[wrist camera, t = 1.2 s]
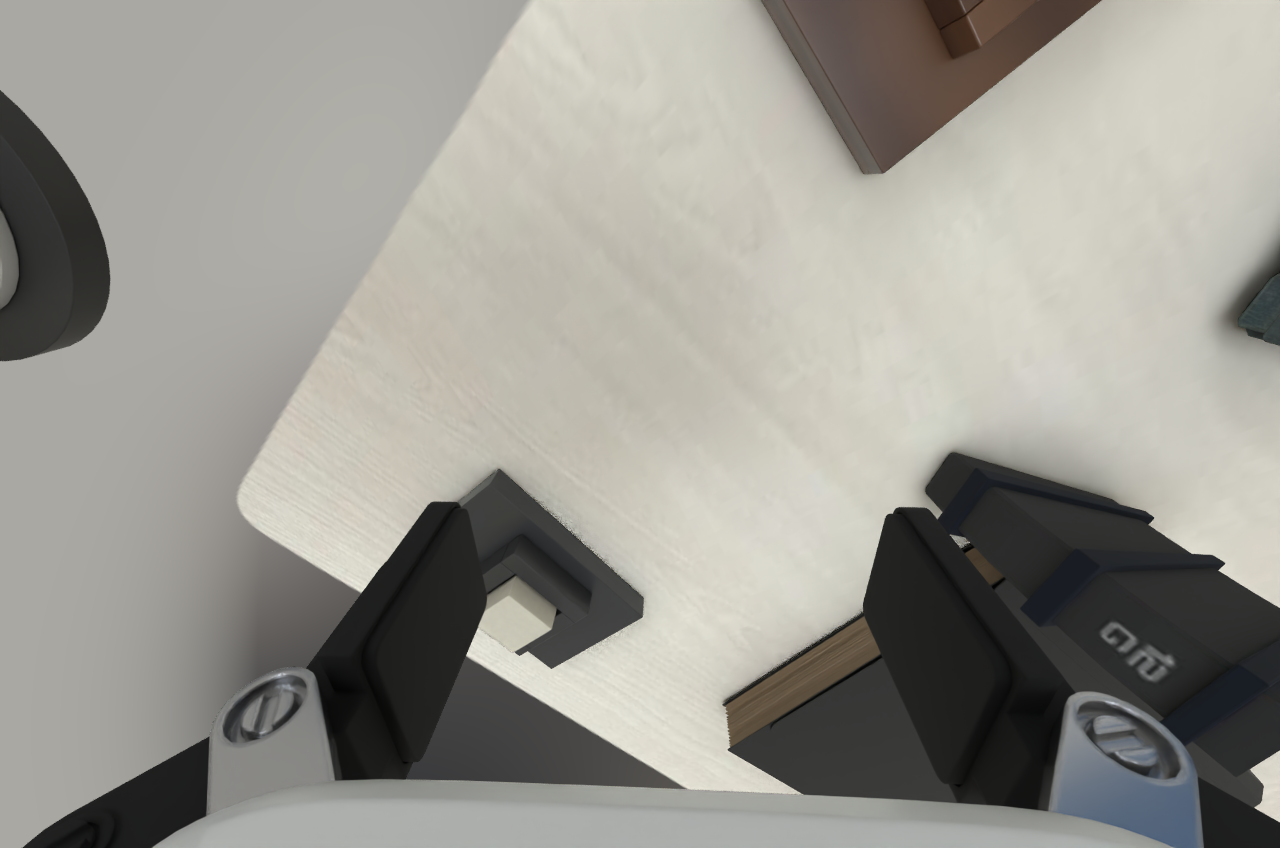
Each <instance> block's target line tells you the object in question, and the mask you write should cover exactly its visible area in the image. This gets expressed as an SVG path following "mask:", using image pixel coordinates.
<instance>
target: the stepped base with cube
mask: <svg viewBox="0 0 1280 848" xmlns="http://www.w3.org/2000/svg"><path fill="white" fill-rule="evenodd" d="M458 503H459V504H460V505H461V508H465V509H467V510H468V513H469V517H470V521H471V525H472V530H473V534H474V539H475V543H476V548H477V552H478V557H479V561H480V566H481V570H482V574H483V579H484V583H485V588H486V592H487V594H489V593H490V592H492V591H493V590H494V589H496V588H497V587H499V586H500V585H502V584H503V583H505V582H506V581H508V580H509V579H511V578H512V577H514V576H515V575H517V576H518V577H519V578H521V579H522V580H523V581H524V582H526V583H527V584H528V585H529V586H531V587H532V588H533V589H534V590H535V591H537V592H538V593H539V594H540V595H542V596H543V597H544V598H545V599H546V600H548V601H549V602H550V603H551V604H553V605H554V606H555V607H556V608H557V611H556V615H555V618H554V622H553V626H552V629H551V630H550V631H548V632H547V633H545V634H543V635H542V636H540V637H538V638H537V639H535V640H533V641H532V642H530V643H528V644H527V645H525V646H523V647H522V648H520V649H518V650H517V651H515V653H516V654H518V655H519V656H520V655H522V654H524V653H525V652H527V651H528V652H530V653H531V654H532V655H534V656H535V657H536V658H538V659H539V660H540V661H542V662H543V663H544V664H546V665H547V666H548V667H550V668H551V669H552V668H554V667H556V666H558V665H559V664H561V663H563V662H565V661H566V660H568V659H570V658H572V657H573V656H575V655H577V654H579V653H580V652H582V651H584V650H586V649H588V648H589V647H591V646H593V645H595V644H596V643H598V642H600V641H602V640H603V639H605V638H607V637H609V636H611V635H612V634H614V633H616V632H618V631H619V630H621V629H623V628H625V627H626V626H628V625H630V624H632V623H634V622H635V621H637V620H639V619H641V618H642V617H643V604H644V598H643V597H642V596H640V595H639V594H638V593H637V592H636V591H635V590H634V589H633V588H632V587H630V586H629V585H628V584H627V583H626V582H625V581H624V580H623V579H621V578H620V577H619V576H618V575H617V574H616V573H615V572H614V571H613V570H611V569H610V568H609V567H608V566H607V565H606V564H605V563H604V562H603V561H601V560H600V559H599V558H598V557H597V556H596V555H595V554H594V553H592V552H591V551H590V550H589V549H588V548H587V547H586V546H585V545H584V544H582V543H581V542H580V541H579V540H578V539H577V538H576V537H575V536H574V535H572V534H571V533H570V532H569V531H568V530H567V529H566V528H565V527H563V526H562V525H561V524H560V523H559V522H558V521H557V520H556V519H555V518H553V517H552V516H551V515H550V514H549V513H548V512H547V511H546V510H545V509H543V508H542V507H541V506H540V505H539V504H538V503H537V502H536V501H534V500H533V499H532V498H531V497H530V496H529V495H528V494H527V493H526V492H524V491H523V490H522V489H521V488H520V487H519V486H518V485H517V484H516V483H514V482H513V481H512V480H511V479H510V478H509V477H508V476H507V475H505V474H504V473H503V472H502V471H501V470H500V469H498V470H497V471H496V472H495V473H493V474H492V475H491V476H490V477H488V478H487V479H486V480H485V481H483V482H482V483H481V484H480V485H478V486H477V487H476V488H475V489H473V490H472V491H471V492H470V493H468V494H467V495H466V496H465V497H463V498H462V499H461V500H460V501H458Z"/></svg>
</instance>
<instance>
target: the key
mask: <svg viewBox="0 0 1280 848" xmlns="http://www.w3.org/2000/svg"><path fill="white" fill-rule="evenodd" d="M556 611H557V608H556V607H555V606H554V605H553V604H551V603H550V602H549V601H548V600H546V599H545V598H544V597H543V596H542V595H540V594H539V593H538V592H537V591H535V590H534V589H533V588H532V587H531V586H529V585H528V584H527V583H526V582H524V581H523V580H522V579H521V578H519V577H518V576H517V575H515V576H514V577H512V578H511V579H509V580H508V581H506V582H505V583H503V584H502V585H500V586H499V587H497V588H496V589H494V590H493V591H492V592H490V593H489V594H487V604H486V609H485V611H484V614H483V616H482V619H481V621H480V623H479V626H478V628H479V629H481V630H482V631H483V632H485V633H486V634H487V635H489V636H490V637H491V638H493V639H494V640H495V641H497V642H498V643H499V644H501V645H502V646H503V647H505V648H506V649H507V650H509V651H510V652H512V653H514V652H515V651H517V650H518V649H520V648H522V647H523V646H525V645H527V644H528V643H530V642H532V641H533V640H535V639H537V638H538V637H540V636H542V635H543V634H545V633H547V632H548V631H550V630H551V629H552V626H553V622H554V618H555V615H556Z"/></svg>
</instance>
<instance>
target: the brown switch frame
mask: <svg viewBox="0 0 1280 848" xmlns="http://www.w3.org/2000/svg"><path fill="white" fill-rule="evenodd" d="M1100 1H1101V0H762V2H763V4H764V6H765V7H766V9H767V11H768V12H769V14H770V16H771V17H772V19H773V21H774V23H775V24H776V26H777V28H778V29H779V31H780V33H781V34H782V36H783V38H784V39H785V41H786V43H787V45H788V46H789V48H790V50H791V51H792V53H793V55H794V56H795V58H796V60H797V61H798V63H799V65H800V67H801V68H802V70H803V72H804V73H805V75H806V77H807V78H808V80H809V82H810V84H811V85H812V87H813V89H814V90H815V92H816V94H817V95H818V97H819V99H820V100H821V102H822V104H823V106H824V107H825V109H826V111H827V112H828V114H829V116H830V117H831V119H832V121H833V123H834V124H835V126H836V128H837V129H838V131H839V133H840V134H841V136H842V138H843V139H844V141H845V143H846V145H847V146H848V148H849V150H850V151H851V153H852V155H853V156H854V158H855V160H856V161H857V163H858V165H859V167H860V168H861V170H862V172H863V173H864V174H883V173H885V172H886V171H887V170H889V169H890V168H891V167H892V166H894V165H895V164H896V163H897V162H899V161H900V160H901V159H902V158H904V157H905V156H906V155H908V154H909V153H910V152H911V151H913V150H914V149H915V148H916V147H918V146H919V145H920V144H921V143H923V142H924V141H925V140H926V139H928V138H929V137H930V136H931V135H933V134H934V133H935V132H936V131H938V130H939V129H940V128H942V127H943V126H944V125H945V124H947V123H948V122H949V121H950V120H952V119H953V118H954V117H955V116H957V115H958V114H959V113H960V112H962V111H963V110H964V109H965V108H967V107H968V106H969V105H970V104H972V103H973V102H974V101H976V100H977V99H978V98H979V97H981V96H982V95H983V94H984V93H986V92H987V91H988V90H989V89H991V88H992V87H993V86H994V85H996V84H997V83H998V82H999V81H1001V80H1002V79H1003V78H1004V77H1006V76H1007V75H1008V74H1010V73H1011V72H1012V71H1013V70H1015V69H1016V68H1017V67H1018V66H1020V65H1021V64H1022V63H1023V62H1025V61H1026V60H1027V59H1028V58H1030V57H1031V56H1032V55H1033V54H1035V53H1036V52H1037V51H1039V50H1040V49H1041V48H1042V47H1044V46H1045V45H1046V44H1047V43H1049V42H1050V41H1051V40H1052V39H1054V38H1055V37H1056V36H1057V35H1059V34H1060V33H1061V32H1062V31H1064V30H1065V29H1066V28H1067V27H1069V26H1070V25H1071V24H1073V23H1074V22H1075V21H1076V20H1078V19H1079V18H1080V17H1081V16H1083V15H1084V14H1085V13H1086V12H1088V11H1089V10H1090V9H1091V8H1093V7H1094V6H1095V5H1096V4H1098V3H1099V2H1100Z"/></svg>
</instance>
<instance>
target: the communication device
mask: <svg viewBox="0 0 1280 848" xmlns="http://www.w3.org/2000/svg"><path fill="white" fill-rule="evenodd" d="M1238 325H1239V327H1242V328H1246V330H1247V333H1248V336H1251V337H1255V338H1258V339H1262V340H1264V341H1265V342H1269V343H1273V344H1276V345H1280V273H1279V274H1277V275H1275V276H1274V277H1272V278H1271V279H1269V281H1268V282H1267V283H1266V285H1265V286H1264V287H1263V288H1262V290H1261V291H1260V292H1259V293H1258V295H1257V296H1256V297H1255V298H1254V300H1253V301H1252V302H1251V303H1250V305H1249V306H1248V307H1247V309H1246V310H1245V311H1244V312H1243V314H1242V315H1241V316H1240V317H1239V319H1238Z"/></svg>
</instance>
